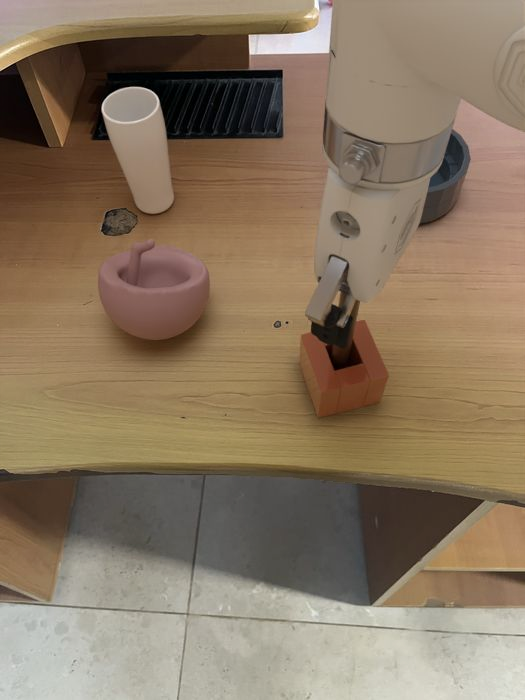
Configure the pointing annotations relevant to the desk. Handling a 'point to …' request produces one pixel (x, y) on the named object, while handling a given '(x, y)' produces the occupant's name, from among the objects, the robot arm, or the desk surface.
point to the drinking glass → (140, 146)
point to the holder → (343, 373)
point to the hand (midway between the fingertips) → (355, 297)
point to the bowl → (447, 179)
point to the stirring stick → (342, 355)
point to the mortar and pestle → (154, 290)
